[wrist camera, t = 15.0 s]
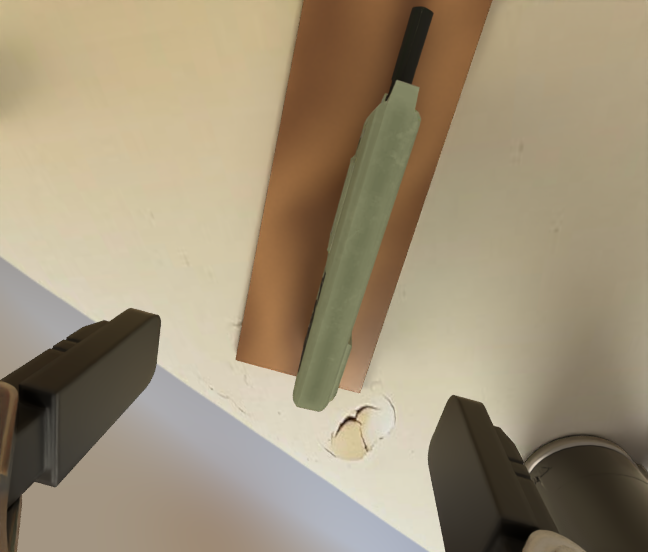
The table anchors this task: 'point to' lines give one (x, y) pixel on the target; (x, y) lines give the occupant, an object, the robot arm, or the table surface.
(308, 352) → the handheld radio
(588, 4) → the table surface
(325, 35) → the wooden board
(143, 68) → the table surface
